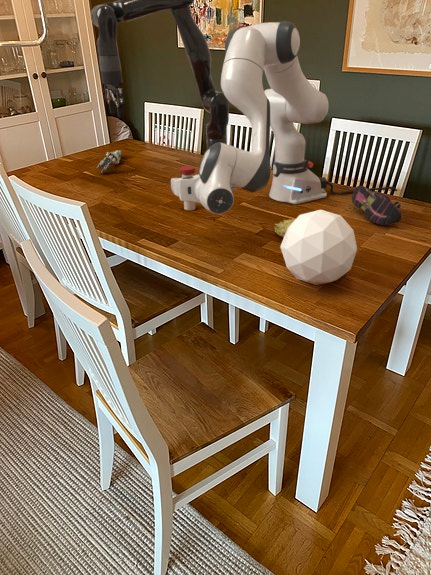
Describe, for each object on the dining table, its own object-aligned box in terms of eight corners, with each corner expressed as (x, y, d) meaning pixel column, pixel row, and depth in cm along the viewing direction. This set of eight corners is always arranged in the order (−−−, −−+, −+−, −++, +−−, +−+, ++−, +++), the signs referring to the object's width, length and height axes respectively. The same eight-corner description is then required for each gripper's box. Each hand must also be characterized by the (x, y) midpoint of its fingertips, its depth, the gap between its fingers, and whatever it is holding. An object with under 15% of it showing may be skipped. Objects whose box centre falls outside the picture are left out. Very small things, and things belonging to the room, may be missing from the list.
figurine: (101, 154, 197) (119, 141, 223) (91, 167, 200) (110, 152, 227) (114, 165, 199) (130, 151, 225) (103, 178, 203) (121, 162, 229)
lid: (188, 169, 162) (188, 164, 161) (197, 172, 159) (197, 167, 158) (177, 172, 160) (177, 168, 159) (186, 176, 156) (186, 171, 155)
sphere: (293, 297, 126) (258, 236, 124) (350, 261, 128) (317, 201, 126) (319, 302, 107) (278, 231, 105) (385, 260, 109) (347, 189, 107)
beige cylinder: (190, 205, 169) (188, 166, 161) (197, 208, 167) (195, 169, 158) (181, 208, 167) (179, 169, 159) (189, 211, 164) (186, 171, 156)
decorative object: (286, 211, 157) (342, 219, 147) (286, 217, 158) (341, 226, 148) (260, 233, 142) (319, 243, 133) (260, 240, 144) (319, 251, 134)
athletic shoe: (393, 214, 141) (421, 210, 145) (357, 172, 153) (384, 169, 157) (376, 239, 150) (403, 235, 154) (344, 197, 161) (370, 194, 166)
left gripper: (127, 70, 159) (133, 117, 168) (113, 66, 169) (119, 111, 178) (107, 71, 156) (114, 120, 164) (94, 68, 166) (101, 113, 175)
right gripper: (243, 175, 129) (231, 166, 141) (173, 179, 125) (168, 170, 138) (243, 196, 132) (231, 186, 144) (175, 201, 128) (169, 190, 140)
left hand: (117, 115), depth 171 cm, fingers open, 8 cm apart
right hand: (200, 178), depth 141 cm, fingers open, 8 cm apart
